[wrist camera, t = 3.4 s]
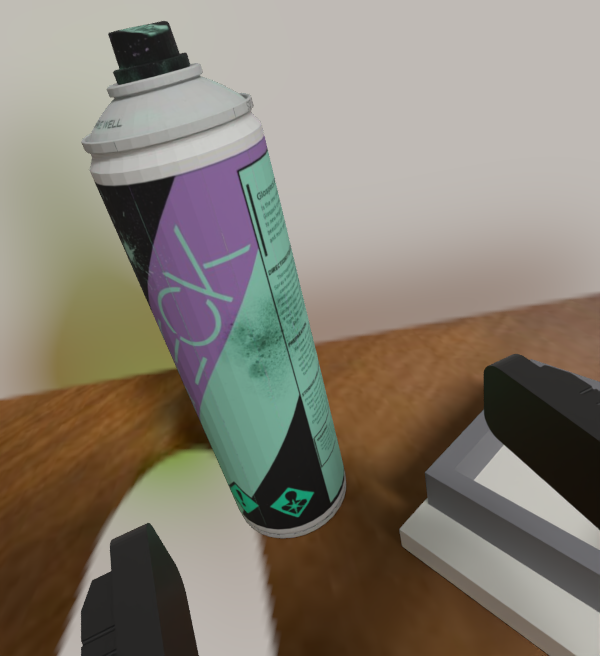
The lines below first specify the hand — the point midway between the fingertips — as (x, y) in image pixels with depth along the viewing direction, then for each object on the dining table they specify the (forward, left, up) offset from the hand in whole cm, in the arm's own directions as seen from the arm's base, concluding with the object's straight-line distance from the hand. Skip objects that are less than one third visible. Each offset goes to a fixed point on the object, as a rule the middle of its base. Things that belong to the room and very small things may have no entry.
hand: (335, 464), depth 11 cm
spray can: (+3, +9, -11) cm, 15 cm away
